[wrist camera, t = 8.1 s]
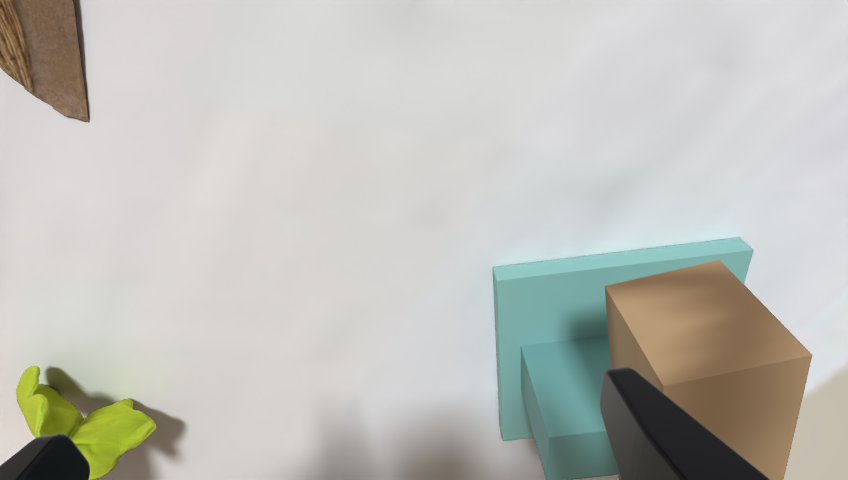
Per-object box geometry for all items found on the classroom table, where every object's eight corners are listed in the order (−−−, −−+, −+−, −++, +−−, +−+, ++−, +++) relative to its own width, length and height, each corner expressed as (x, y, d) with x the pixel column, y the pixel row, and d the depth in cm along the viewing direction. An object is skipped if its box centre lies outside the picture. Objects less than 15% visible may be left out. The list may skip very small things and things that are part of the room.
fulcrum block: (739, 237, 22) (842, 330, 17) (695, 402, 28) (761, 507, 23) (492, 267, 22) (522, 367, 17) (499, 425, 28) (523, 535, 23)
